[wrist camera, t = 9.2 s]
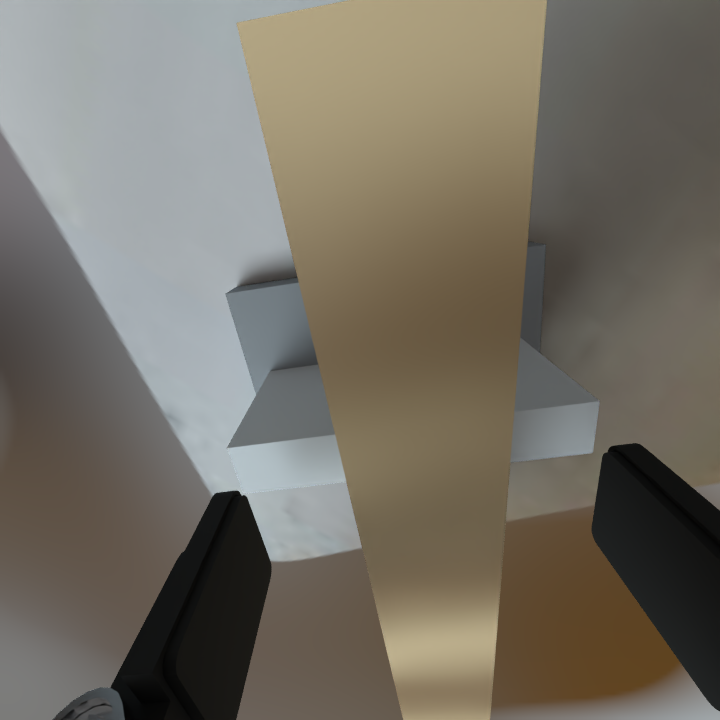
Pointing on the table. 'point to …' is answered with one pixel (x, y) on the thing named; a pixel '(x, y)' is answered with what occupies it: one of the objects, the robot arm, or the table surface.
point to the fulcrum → (310, 408)
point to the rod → (413, 294)
